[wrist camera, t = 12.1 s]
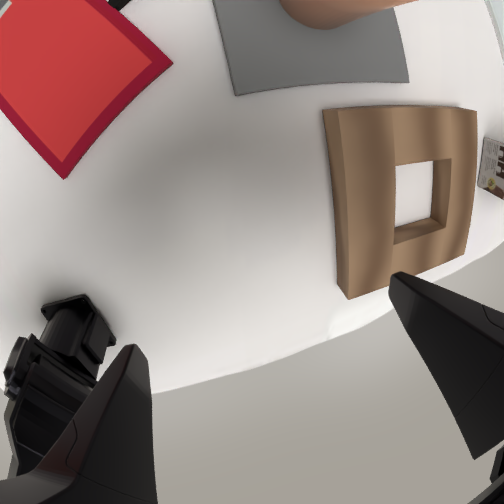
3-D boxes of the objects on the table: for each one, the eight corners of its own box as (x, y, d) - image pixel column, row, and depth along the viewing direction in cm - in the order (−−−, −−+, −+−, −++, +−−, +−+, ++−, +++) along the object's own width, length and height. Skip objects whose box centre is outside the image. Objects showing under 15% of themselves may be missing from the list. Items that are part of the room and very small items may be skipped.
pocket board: (337, 284, 26) (348, 300, 24) (322, 109, 18) (337, 110, 15) (450, 243, 26) (464, 254, 24) (458, 107, 18) (476, 111, 16)
